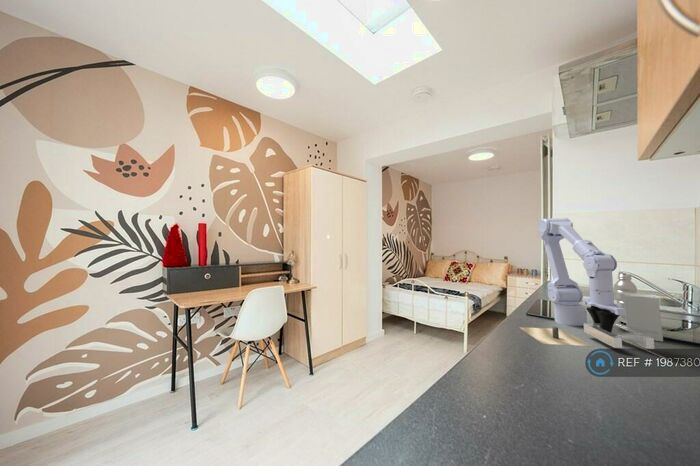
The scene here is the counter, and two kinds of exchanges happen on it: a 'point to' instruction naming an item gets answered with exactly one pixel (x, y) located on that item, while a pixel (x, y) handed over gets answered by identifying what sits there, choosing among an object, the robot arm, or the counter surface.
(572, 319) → the robot arm
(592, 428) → the counter surface
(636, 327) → the skincare box
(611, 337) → the c link
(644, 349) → the mat
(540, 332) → the hook board
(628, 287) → the plastic bottle
